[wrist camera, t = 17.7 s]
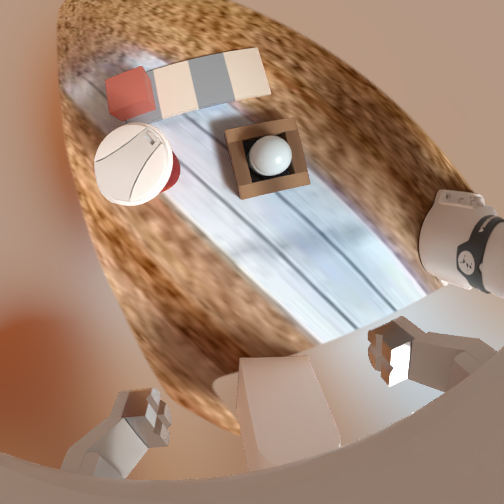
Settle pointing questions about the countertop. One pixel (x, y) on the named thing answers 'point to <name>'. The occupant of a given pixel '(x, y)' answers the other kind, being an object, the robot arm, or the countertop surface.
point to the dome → (269, 156)
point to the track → (205, 83)
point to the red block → (130, 94)
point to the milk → (282, 412)
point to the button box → (255, 132)
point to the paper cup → (135, 164)
